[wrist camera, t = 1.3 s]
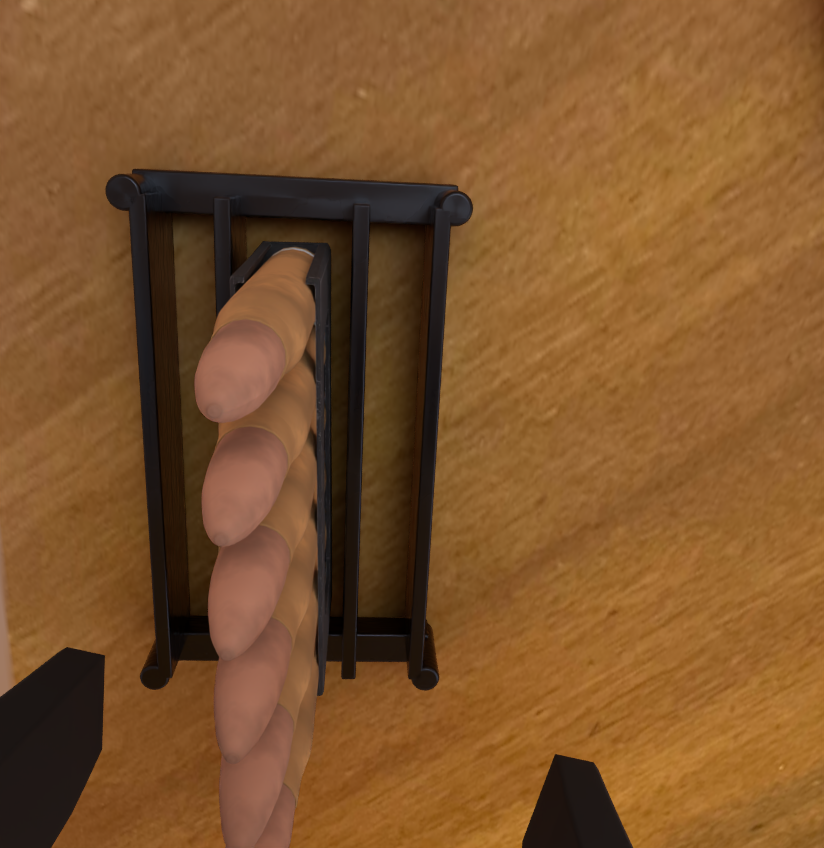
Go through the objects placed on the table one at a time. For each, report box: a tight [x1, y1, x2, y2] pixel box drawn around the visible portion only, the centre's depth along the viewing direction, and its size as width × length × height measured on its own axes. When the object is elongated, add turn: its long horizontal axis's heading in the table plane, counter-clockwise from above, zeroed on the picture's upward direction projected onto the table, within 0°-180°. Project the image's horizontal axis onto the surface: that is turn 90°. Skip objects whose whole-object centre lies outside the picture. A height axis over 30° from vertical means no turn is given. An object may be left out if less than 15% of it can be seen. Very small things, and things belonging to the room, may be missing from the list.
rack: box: [106, 169, 473, 690], centre depth 21 cm, size 8×14×2 cm, turn 177°
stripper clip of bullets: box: [194, 241, 332, 848], centre depth 16 cm, size 11×2×12 cm, turn 178°
